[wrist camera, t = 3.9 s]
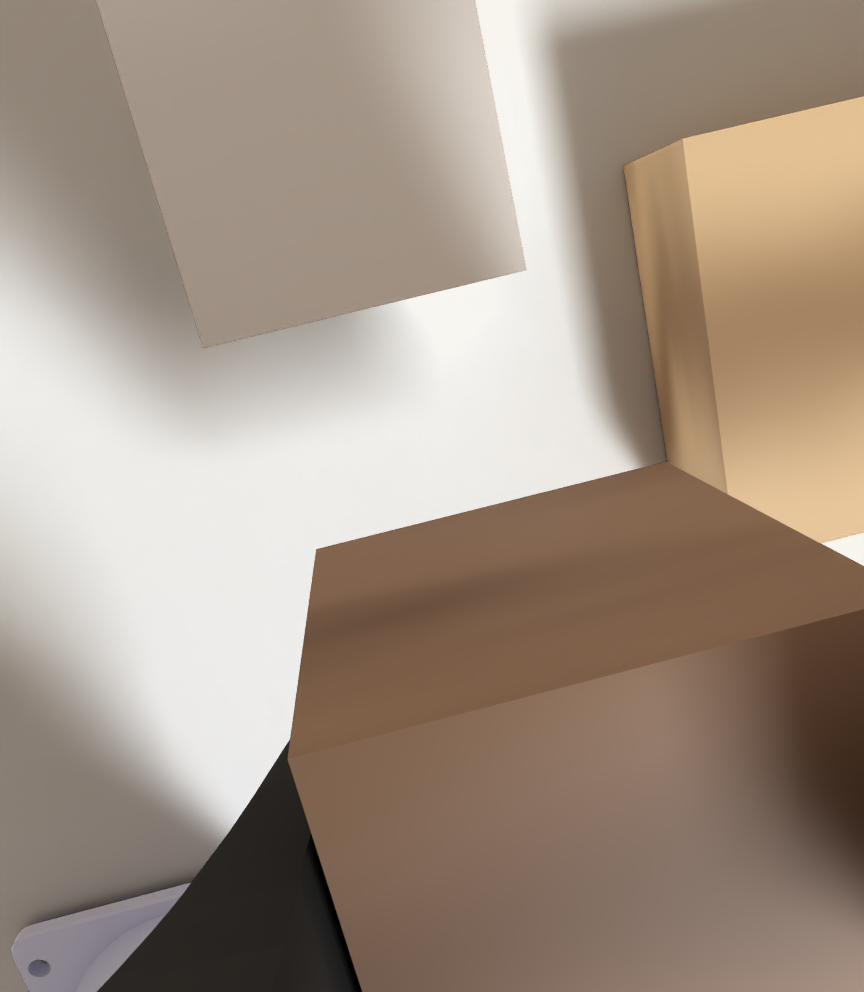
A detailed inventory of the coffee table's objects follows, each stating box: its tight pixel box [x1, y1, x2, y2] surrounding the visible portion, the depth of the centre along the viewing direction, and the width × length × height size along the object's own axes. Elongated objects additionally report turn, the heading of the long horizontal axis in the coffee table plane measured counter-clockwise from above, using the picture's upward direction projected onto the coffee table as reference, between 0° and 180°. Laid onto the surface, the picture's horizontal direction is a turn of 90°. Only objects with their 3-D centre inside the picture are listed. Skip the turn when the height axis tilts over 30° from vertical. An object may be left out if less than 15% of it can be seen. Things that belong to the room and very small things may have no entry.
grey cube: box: [96, 0, 526, 348], centre depth 13 cm, size 5×5×5 cm
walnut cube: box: [288, 462, 864, 992], centre depth 9 cm, size 5×5×5 cm
